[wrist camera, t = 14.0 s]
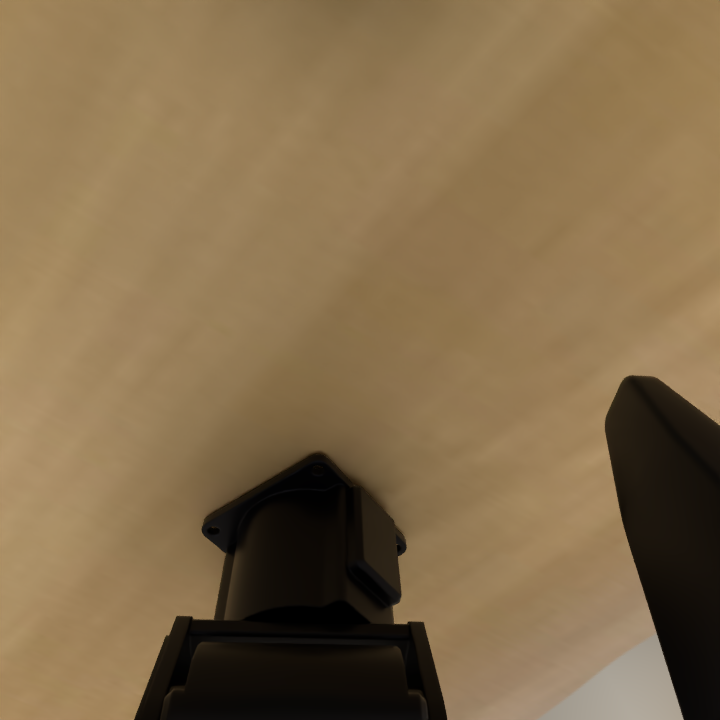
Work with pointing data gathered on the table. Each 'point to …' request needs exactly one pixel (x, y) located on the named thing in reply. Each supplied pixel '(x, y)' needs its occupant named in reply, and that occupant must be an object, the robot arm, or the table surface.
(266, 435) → the table surface
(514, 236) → the table surface
